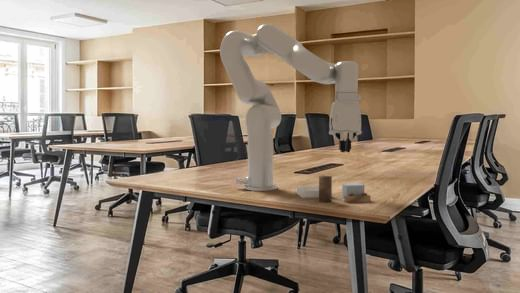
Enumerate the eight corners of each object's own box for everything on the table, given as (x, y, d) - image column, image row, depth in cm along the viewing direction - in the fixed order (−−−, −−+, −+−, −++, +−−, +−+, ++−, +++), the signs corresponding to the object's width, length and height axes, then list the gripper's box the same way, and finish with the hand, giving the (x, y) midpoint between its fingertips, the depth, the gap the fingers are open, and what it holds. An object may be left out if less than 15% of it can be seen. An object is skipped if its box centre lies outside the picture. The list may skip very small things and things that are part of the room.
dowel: (320, 202, 134) (321, 177, 134) (317, 200, 138) (317, 175, 138) (333, 202, 135) (333, 177, 134) (329, 199, 139) (329, 175, 138)
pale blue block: (346, 201, 138) (346, 185, 137) (342, 198, 142) (342, 183, 141) (364, 200, 139) (364, 185, 138) (359, 198, 142) (359, 183, 142)
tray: (303, 198, 141) (303, 191, 141) (296, 193, 150) (296, 186, 150) (331, 197, 142) (332, 190, 142) (323, 192, 152) (323, 185, 152)
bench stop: (346, 202, 134) (346, 194, 134) (344, 201, 136) (344, 193, 136) (370, 201, 136) (370, 193, 135) (367, 200, 138) (368, 192, 137)
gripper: (363, 98, 150) (362, 150, 152) (321, 98, 148) (320, 151, 149) (372, 98, 143) (370, 152, 144) (327, 97, 141) (326, 153, 142)
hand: (345, 151), depth 147 cm, fingers closed
